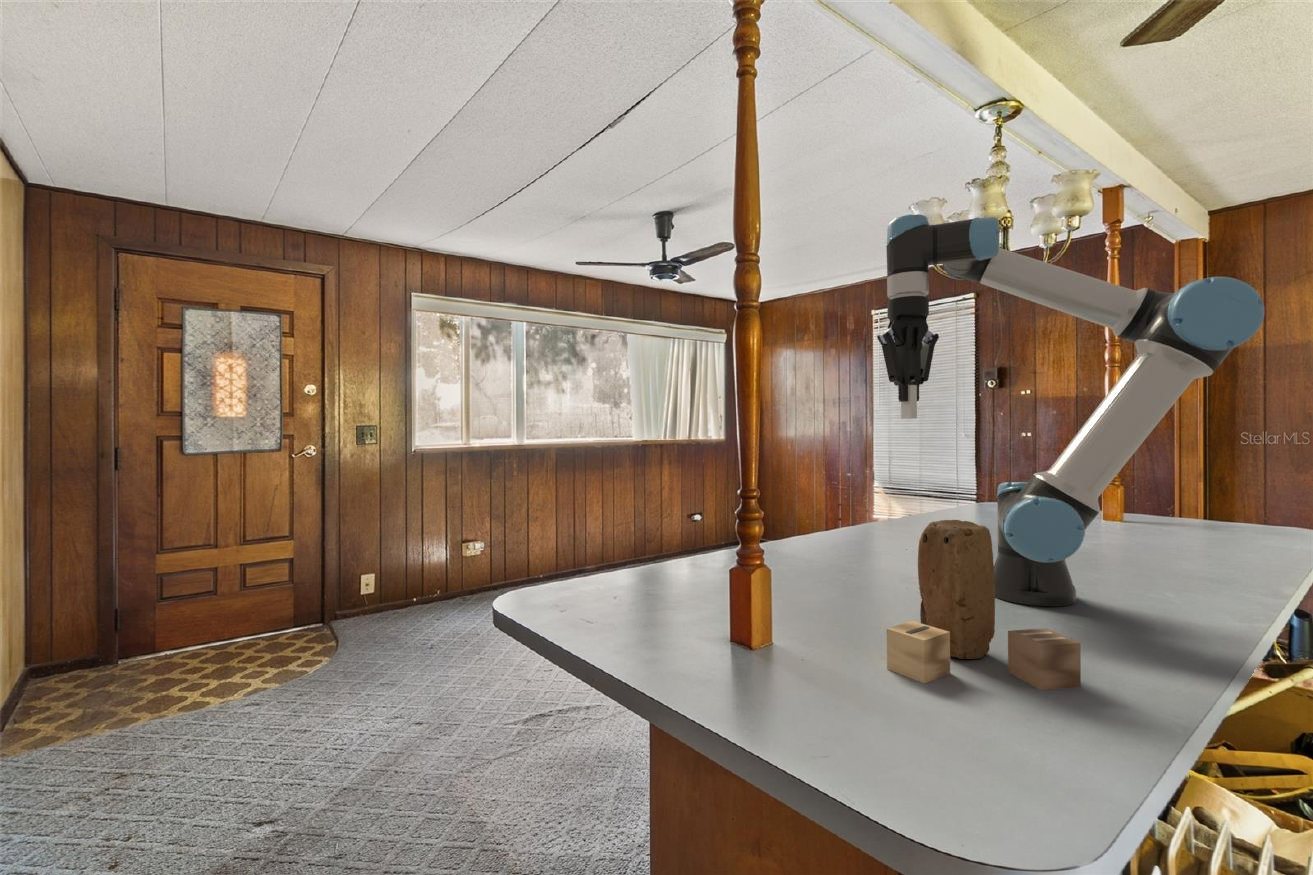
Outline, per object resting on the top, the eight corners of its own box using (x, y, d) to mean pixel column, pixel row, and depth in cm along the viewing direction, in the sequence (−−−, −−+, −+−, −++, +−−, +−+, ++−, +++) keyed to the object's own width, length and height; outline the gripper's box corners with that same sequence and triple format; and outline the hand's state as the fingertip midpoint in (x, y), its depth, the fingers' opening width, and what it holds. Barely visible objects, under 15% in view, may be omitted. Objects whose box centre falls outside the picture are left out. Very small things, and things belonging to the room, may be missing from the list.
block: (1000, 660, 91) (999, 526, 91) (956, 664, 90) (955, 529, 89) (951, 635, 102) (950, 516, 102) (911, 639, 100) (910, 518, 100)
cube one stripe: (912, 660, 92) (912, 620, 92) (950, 673, 87) (949, 631, 87) (887, 669, 89) (886, 627, 89) (924, 684, 84) (923, 639, 84)
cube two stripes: (1046, 669, 88) (1046, 627, 88) (1080, 687, 82) (1080, 642, 82) (1008, 672, 87) (1007, 630, 87) (1039, 690, 81) (1039, 645, 81)
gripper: (921, 303, 125) (922, 418, 126) (867, 300, 122) (868, 419, 122) (949, 295, 118) (950, 417, 119) (892, 292, 114) (893, 418, 115)
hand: (909, 418), depth 120 cm, fingers closed
